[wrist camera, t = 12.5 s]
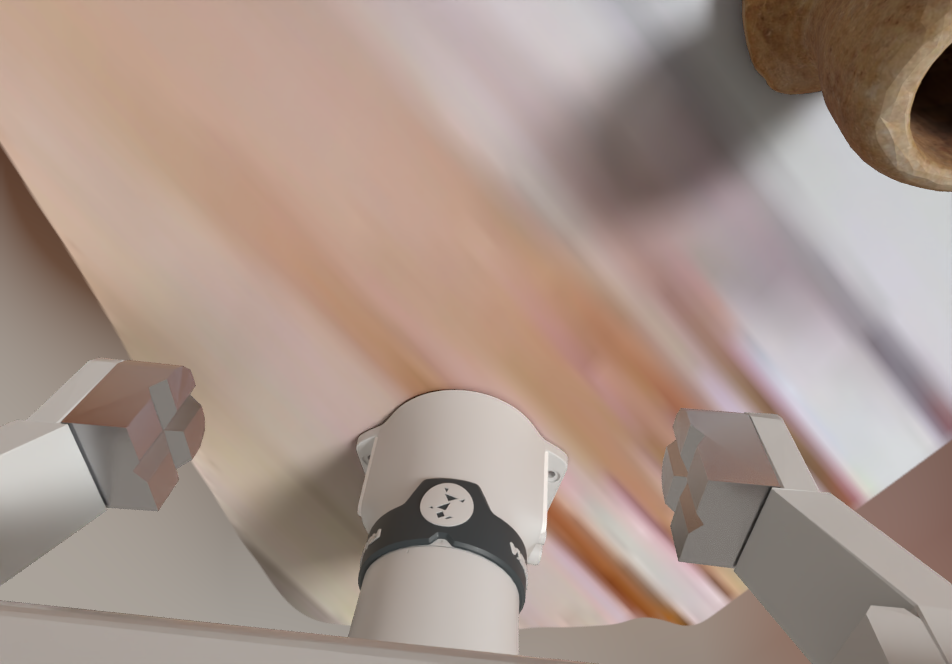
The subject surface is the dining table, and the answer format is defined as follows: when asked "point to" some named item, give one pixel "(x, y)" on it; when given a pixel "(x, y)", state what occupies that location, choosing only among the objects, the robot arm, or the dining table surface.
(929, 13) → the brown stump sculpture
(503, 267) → the dining table surface
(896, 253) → the dining table surface
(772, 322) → the dining table surface
